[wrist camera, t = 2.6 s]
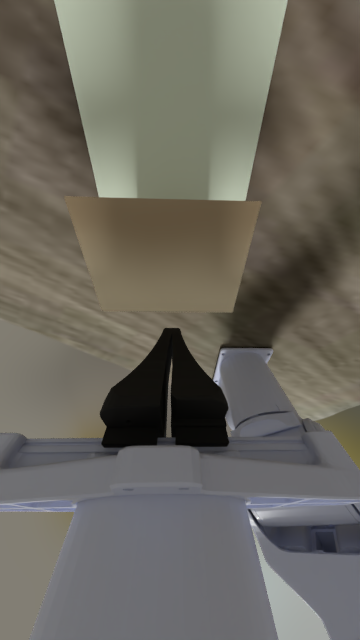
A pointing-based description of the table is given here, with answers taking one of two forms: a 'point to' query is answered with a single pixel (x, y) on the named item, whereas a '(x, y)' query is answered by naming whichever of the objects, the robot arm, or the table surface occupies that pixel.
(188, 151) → the mat
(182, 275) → the birch block
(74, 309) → the table surface
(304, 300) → the table surface
